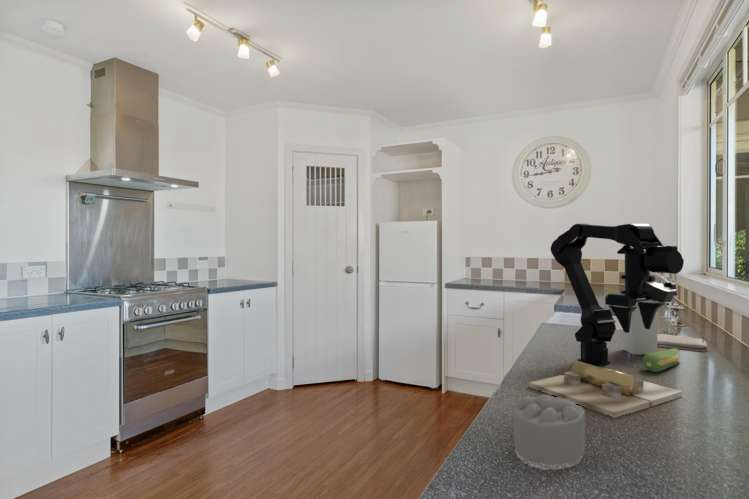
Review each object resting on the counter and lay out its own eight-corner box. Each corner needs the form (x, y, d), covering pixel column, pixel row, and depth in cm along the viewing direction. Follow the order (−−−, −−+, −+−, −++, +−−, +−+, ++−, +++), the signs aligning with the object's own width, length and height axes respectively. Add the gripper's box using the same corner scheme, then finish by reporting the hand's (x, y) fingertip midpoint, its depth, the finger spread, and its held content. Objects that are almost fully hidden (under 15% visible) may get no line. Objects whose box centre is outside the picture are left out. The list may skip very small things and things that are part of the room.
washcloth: (708, 353, 139) (709, 344, 138) (642, 346, 148) (642, 337, 148) (706, 346, 148) (706, 337, 148) (644, 340, 158) (644, 331, 158)
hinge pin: (570, 380, 108) (570, 362, 108) (582, 377, 110) (582, 359, 110) (626, 398, 96) (625, 377, 96) (638, 393, 98) (637, 374, 98)
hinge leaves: (528, 387, 107) (528, 372, 107) (593, 371, 119) (593, 358, 119) (614, 418, 88) (614, 400, 88) (682, 396, 100) (682, 380, 99)
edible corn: (636, 355, 120) (653, 353, 116) (668, 347, 131) (685, 345, 128) (641, 374, 119) (659, 373, 115) (674, 364, 130) (691, 363, 126)
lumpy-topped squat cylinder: (591, 448, 75) (591, 398, 75) (566, 479, 65) (566, 422, 65) (531, 431, 82) (531, 386, 82) (501, 457, 72) (500, 405, 72)
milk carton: (645, 349, 142) (645, 291, 142) (657, 355, 135) (657, 294, 135) (622, 349, 143) (622, 291, 143) (633, 355, 136) (633, 294, 136)
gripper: (648, 274, 103) (648, 340, 103) (690, 271, 112) (690, 332, 112) (603, 272, 113) (604, 332, 113) (645, 269, 122) (645, 325, 122)
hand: (637, 330), depth 115 cm, fingers open, 9 cm apart
